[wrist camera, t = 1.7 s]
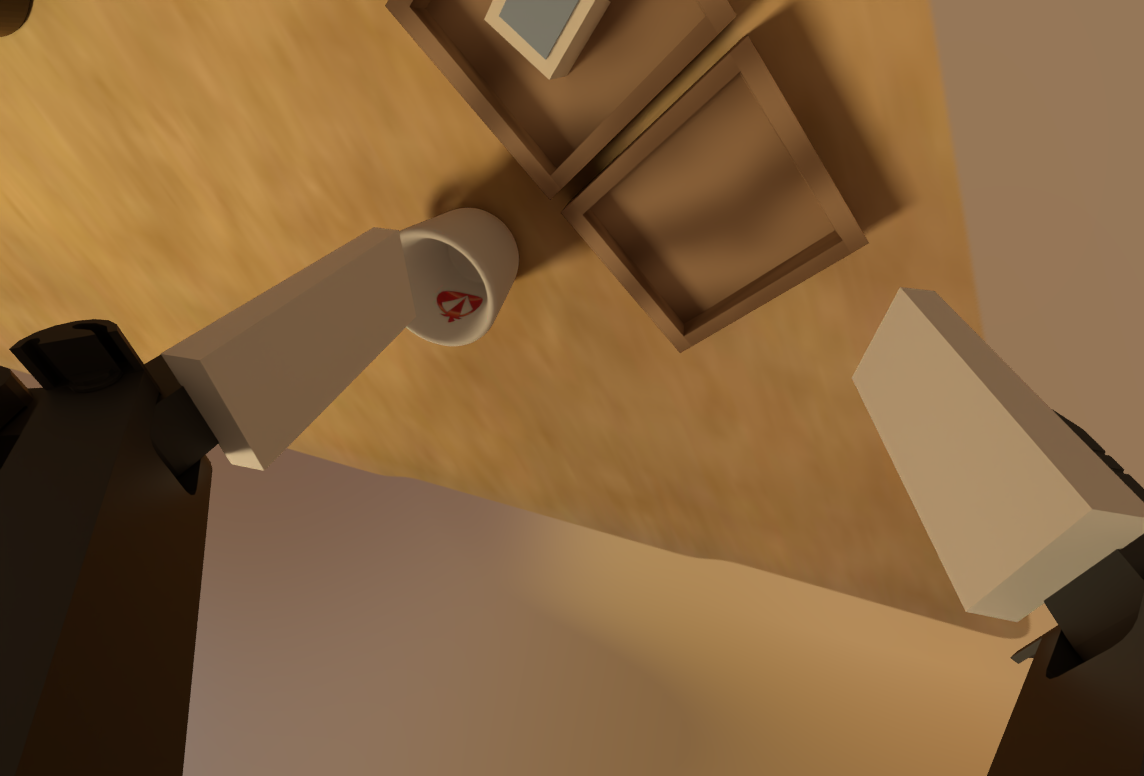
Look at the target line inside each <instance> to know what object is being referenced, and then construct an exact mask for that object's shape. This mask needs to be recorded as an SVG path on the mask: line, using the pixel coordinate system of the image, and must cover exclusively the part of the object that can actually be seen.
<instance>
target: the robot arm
mask: <svg viewBox="0 0 1144 776" xmlns="http://www.w3.org/2000/svg"><path fill="white" fill-rule="evenodd" d="M28 7H29V0H0V37H3V36H7V35H9V34H12V33H13V32H15V31H16V30H17V29H18V28H19V27H20V26H21V25H22V23H23V22H24V20H25V18H26V15H27V12H28ZM415 317H416V313H415V308H414V303H413V298H412V293H411V288H410V283H409V278H408V273H407V268H406V263H405V258H404V254H403V249H402V244H401V239H400V234H399V230H393V229H384V228H375V227H374V228H372V229H370V230H369V231H367V232H365V233H363V234H362V235H360V236H358V237H357V238H355V239H353V240H352V241H350V242H348V243H347V244H345V245H343V246H342V247H340V248H338V249H336V250H335V251H333V252H331V253H330V254H328V255H326V256H325V257H323V258H321V259H320V260H318V261H316V262H315V263H313V264H311V265H309V266H308V267H306V268H304V269H303V270H301V271H299V272H298V273H296V274H294V275H293V276H291V277H289V278H288V279H286V280H284V281H282V282H281V283H279V284H277V285H276V286H274V287H272V288H271V289H269V290H267V291H266V292H264V293H262V294H261V295H259V296H257V297H255V298H254V299H252V300H250V301H249V302H247V303H245V304H244V305H242V306H240V307H239V308H237V309H235V310H234V311H232V312H230V313H229V314H227V315H225V316H223V317H222V318H220V319H218V320H217V321H215V322H213V323H212V324H210V325H208V326H207V327H205V328H203V329H202V330H200V331H198V332H196V333H195V334H193V335H191V336H190V337H188V338H186V339H185V340H183V341H181V342H180V343H178V344H176V345H175V346H173V347H171V348H169V349H168V350H166V351H164V352H163V353H161V355H159V356H158V357H156V358H154V359H153V360H151V361H149V362H148V363H146V364H143V362H142V361H141V359H140V358H139V356H138V355H137V354H136V352H135V351H134V349H133V348H132V346H131V345H130V343H129V342H128V340H127V339H126V337H125V336H124V334H123V333H122V332H121V330H120V329H119V327H118V326H117V324H115V323H113V322H111V321H109V320H97V319H92V320H82V321H74V322H70V323H65V324H61V325H56V326H53V327H50V328H47V329H44V330H41V331H38V332H36V333H34V334H32V335H30V336H28V337H26V338H24V339H22V340H20V341H18V342H17V343H16V344H15V345H14V346H12V347H11V348H10V349H9V350H10V351H11V352H12V353H13V354H14V355H15V356H16V357H17V359H18V360H19V361H20V362H21V363H22V364H23V365H24V366H25V368H26V369H27V370H28V371H29V372H30V373H31V374H32V375H33V377H34V378H35V379H36V380H37V381H38V382H39V383H40V385H41V386H42V387H43V388H30V389H28V388H27V387H25V385H24V384H23V383H22V382H21V381H20V380H19V379H18V378H17V376H16V375H15V374H14V373H13V372H12V371H11V370H10V369H9V368H6V367H3V366H0V776H182V775H183V764H184V753H185V743H186V734H187V723H188V712H189V703H190V692H191V682H192V672H193V662H194V652H195V642H196V641H195V640H196V631H197V621H198V610H199V600H200V590H201V580H202V569H203V560H204V550H205V549H204V548H205V538H206V529H207V519H208V518H207V517H208V509H209V498H210V488H211V477H212V466H211V462H210V461H209V459H208V458H207V456H206V455H205V454H206V453H208V452H209V451H210V450H211V449H212V448H214V447H215V446H216V445H217V444H219V445H220V447H221V449H222V450H223V452H224V453H225V454H226V456H227V458H228V459H229V461H230V462H231V464H234V465H239V466H243V467H248V468H253V469H259V470H263V471H264V470H265V469H266V468H267V467H268V466H269V465H270V464H271V463H272V462H273V461H274V460H275V459H276V458H277V457H278V456H279V455H280V454H281V453H282V452H283V451H284V450H285V449H286V448H287V447H288V446H289V445H290V444H291V443H292V442H293V441H294V440H295V439H296V438H297V437H298V436H299V435H300V434H301V433H302V432H303V431H304V430H305V429H306V428H307V427H308V426H309V425H310V424H311V423H312V422H313V421H314V420H315V419H316V418H317V417H318V416H319V415H320V414H321V413H322V412H323V411H324V410H325V409H326V408H327V407H328V405H329V404H330V403H331V402H332V401H333V400H334V399H335V398H336V397H337V396H338V395H339V394H340V393H341V392H342V391H343V390H344V389H345V388H346V387H347V386H348V385H349V384H350V383H351V382H352V381H353V380H354V379H355V378H356V377H357V376H358V375H359V374H360V373H361V372H362V371H363V370H364V369H365V368H366V367H367V366H368V365H369V364H370V363H371V362H372V361H373V360H374V359H375V358H376V357H377V356H378V355H379V354H380V353H381V352H382V351H383V350H384V349H385V348H386V347H387V346H388V345H389V344H390V343H391V342H392V341H393V340H394V339H395V338H396V337H397V336H398V335H399V334H400V332H401V331H402V330H403V329H404V328H405V327H406V326H407V325H408V324H409V323H410V322H411V321H412V320H413V319H414V318H415ZM852 379H853V381H854V383H855V386H856V388H857V390H858V392H859V394H860V396H861V398H862V400H863V402H864V404H865V406H866V408H867V410H868V412H869V414H870V416H871V418H872V420H873V422H874V424H875V427H876V429H877V431H878V433H879V435H880V437H881V439H882V441H883V443H884V445H885V447H886V449H887V451H888V453H889V455H890V457H891V459H892V461H893V463H894V465H895V467H896V470H897V472H898V474H899V476H900V478H901V480H902V482H903V484H904V486H905V488H906V490H907V492H908V494H909V496H910V498H911V500H912V502H913V504H914V506H915V508H916V511H917V513H918V515H919V517H920V519H921V521H922V523H923V525H924V527H925V529H926V531H927V533H928V535H929V537H930V539H931V541H932V543H933V545H934V547H935V549H936V552H937V554H938V556H939V558H940V560H941V562H942V564H943V566H944V568H945V570H946V572H947V574H948V576H949V578H950V580H951V582H952V584H953V586H954V588H955V590H956V593H957V595H958V597H959V599H960V601H961V603H962V605H963V607H964V609H965V611H966V612H970V613H975V614H980V615H985V616H990V617H995V618H1000V619H1005V620H1010V621H1015V622H1018V621H1020V620H1021V619H1022V618H1024V617H1025V616H1027V615H1028V614H1030V613H1031V612H1032V611H1034V610H1035V609H1037V608H1038V607H1039V606H1041V605H1042V604H1044V603H1045V604H1046V606H1047V608H1048V609H1049V611H1050V612H1051V614H1052V615H1053V617H1054V619H1055V620H1056V622H1057V623H1058V626H1056V627H1055V628H1053V629H1051V630H1050V631H1048V632H1047V633H1045V634H1043V635H1042V636H1040V637H1039V638H1037V639H1036V640H1034V641H1033V642H1031V643H1029V644H1028V645H1026V646H1025V647H1023V648H1022V649H1020V650H1018V651H1017V652H1016V653H1015V654H1014V655H1013V656H1012V657H1011V659H1013V660H1014V661H1015V662H1017V663H1018V664H1019V663H1021V662H1022V661H1024V660H1025V659H1027V658H1034V659H1033V661H1032V664H1031V667H1030V669H1029V672H1028V674H1027V677H1026V679H1025V682H1024V684H1023V687H1022V689H1021V692H1020V694H1019V697H1018V699H1017V702H1016V704H1015V707H1014V709H1013V712H1012V714H1011V717H1010V719H1009V722H1008V724H1007V727H1006V729H1005V732H1004V734H1003V737H1002V739H1001V742H1000V744H999V747H998V749H997V752H996V754H995V757H994V759H993V762H992V764H991V767H990V770H989V772H988V775H987V776H1144V489H1143V488H1142V487H1141V486H1140V485H1139V484H1138V483H1137V482H1136V481H1135V480H1134V479H1133V478H1132V477H1131V476H1130V475H1129V474H1124V473H1123V471H1124V469H1123V468H1122V467H1121V466H1120V465H1119V464H1118V463H1117V462H1116V461H1115V460H1114V459H1113V458H1112V457H1111V456H1109V455H1105V450H1103V449H1102V447H1101V446H1100V445H1098V443H1096V441H1094V439H1092V438H1091V437H1090V436H1089V435H1088V434H1087V433H1086V432H1085V431H1084V430H1083V429H1082V428H1080V427H1079V426H1077V425H1076V424H1074V423H1072V422H1071V421H1069V420H1068V419H1066V418H1065V417H1063V416H1062V415H1060V414H1058V413H1057V412H1056V411H1054V410H1052V409H1051V408H1050V407H1049V406H1048V405H1047V404H1046V403H1045V402H1044V401H1043V400H1042V399H1041V398H1040V397H1039V396H1038V395H1037V394H1036V393H1035V392H1034V391H1033V390H1032V389H1031V388H1030V387H1029V386H1028V385H1027V384H1026V383H1025V382H1024V381H1023V380H1022V379H1021V378H1020V377H1019V376H1018V375H1017V374H1016V373H1015V372H1014V371H1013V370H1012V369H1011V368H1010V367H1009V366H1008V365H1007V364H1006V363H1005V362H1004V361H1003V360H1002V359H1001V358H1000V357H999V356H998V355H997V354H996V353H995V352H994V351H993V350H992V349H991V348H990V347H989V346H988V345H987V344H986V343H985V342H984V341H983V340H982V339H981V338H980V336H979V335H978V334H977V333H976V332H975V331H974V330H973V329H972V328H971V327H970V326H969V325H968V324H967V323H966V322H965V321H964V320H963V319H962V318H961V317H960V316H959V315H958V314H957V313H956V312H955V311H954V310H953V309H952V308H951V307H950V306H949V305H948V304H947V303H946V302H945V301H944V300H943V299H942V298H941V297H940V296H939V295H938V294H937V293H936V292H935V291H930V290H921V289H912V288H903V287H900V288H899V290H898V292H897V294H896V296H895V298H894V300H893V302H892V303H891V305H890V307H889V309H888V311H887V313H886V315H885V317H884V318H883V320H882V322H881V324H880V326H879V328H878V330H877V332H876V333H875V335H874V337H873V339H872V341H871V343H870V345H869V347H868V348H867V350H866V352H865V354H864V356H863V358H862V360H861V362H860V363H859V365H858V367H857V369H856V371H855V373H854V375H853V377H852Z"/></svg>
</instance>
